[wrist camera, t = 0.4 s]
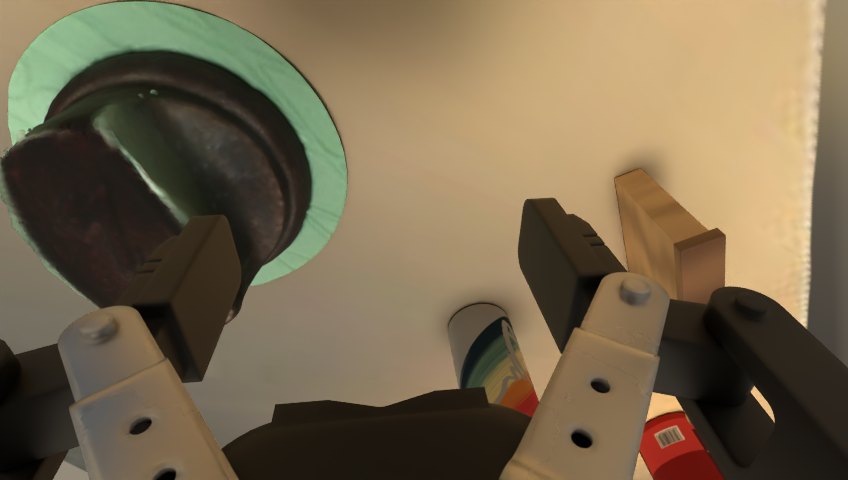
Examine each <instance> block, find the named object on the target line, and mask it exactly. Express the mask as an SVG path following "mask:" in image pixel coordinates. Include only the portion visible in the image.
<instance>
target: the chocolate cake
mask: <svg viewBox="0 0 848 480" xmlns="http://www.w3.org/2000/svg"><path fill="white" fill-rule="evenodd" d="M244 31H245V32H244ZM8 99H9V105H8V126H9V129H10V134H11V139H12V143H13V147H12V148H10V150H9V151H7V150H4V151H3V152H4V153H3V154H5V156H3V158H1V157H0V193H1V199H2V201H3V202H4V203H5V204H6V205H7V208H8V212H9V215H10V217H11V222H12V226H13V228H14V229H15V230H17V232H18V233H19V235H20V236H21V237H22V238H23V239H24V240H25V241H26V242H27V243H28V244H29V245H30V246H31V247H32V249H33V250H34V251H35V252H36V254H37V255H38V256H39V258H40V259H41V261H42V263H43V264H44V266H45V268H46V269H48V270H49V271H50V272H51V273H53V274H54V275H56V276H57V277H58V278H60V279H61V280H62V281H63V282H64V283H66V284H67V285H68V287H70V288H71V289H73V290H74V291H75V292H76V293H78V294H79V295H80V296H82V297H84V298H86V299H87V300H89V301H91V302H92V303H93V304H95V305H96V306H98V307H99V308H100V309H103V308H107V307H112V306H113V305H114V304H115V302H116V301H117V300H118V298H119V297H120V296H121V294H122V293H123V292H124V290H125V289H126V288H127V286H128V285H129V283H130V282H131V281H132V279H133V278H134V277H135V275H136V274H139V270H140V269H141V267H142V266H143V264H144V263H147V261H146V260H147V259H148V258H149V256H150V255H151V254H152V252H153V251H154V250H155V248H156V247H158V246H159V245H160V244H162V243H163V242H165V241H166V240H168V239H169V238H170V237H172V236H179V234H180V233H181V231H182V230H183V229H184V227H185V226H186V224H187V223H188V221H189V220H190V218H191V217H193V216H207V215H224V216H225V217H226V218H227V220H228V222H229V226H230V229H231V233H232V236H233V240H234V243H235V247H236V250H237V254H238V257H239V261H240V265H241V284H240V287H239V290H238V292H237V295H236V297H235V300H234V302H233V305H232V307H231V310H230V312H229V315H228V317H227V320H226V322H225V324H227V323H229V322H230V321H231V320H232V319H234V318H235V317H236V316H237V314H238V313H239V311H240V309H241V305H242V301H243V298H244V296H245V293H246V291H247V289H248V287H249V286H254V285H261V284H263V283H266V282H269V281H272V280H274V279H276V278H279V277H281V276H284V275H286V274H288V273H290V272H291V271H293V270H295V269H297V268H299V267H301V266H302V265H304V264H305V263H306V262H307V261H308V260H310V259H311V258H313V257H314V256H315V255H316V254H318V253H319V252H320V251H321V250H322V248H323V247H324V246H325V245H326V243H327V242H328V240H329V239H330V237H331V235H332V234H333V232H334V231H335V229H336V227H337V225H338V223H339V220H340V218H341V215H342V212H343V209H344V205H345V200H346V193H347V169H346V161H345V156H344V152H343V148H342V144H341V141H340V138H339V136H338V133H337V131H336V128H335V126H334V124H333V122H332V120H331V118H330V116H329V114H328V113H327V111H326V109H325V107H324V106H323V104H322V103H321V101H320V99H319V98H318V97H317V95H316V94H315V92H314V91H313V90H312V88H311V87H310V86H309V85H308V83H307V82H306V81H305V80H304V78H303V77H302V76H301V75H300V74H299V73H298V72H297V71H296V70H295V69H294V68H293V67H292V66H291V65H290V64H289V63H288V62H287V61H286V60H285V59H284V58H283V57H282V56H281V55H279V54H278V53H277V52H276V51H275V50H274V49H272V48H271V47H270V46H268V45H267V44H266V43H264V42H263V41H262V40H260V39H259V38H257V37H256V36H254V35H253V34H251V33H249V32H248V31H246V30H244V29H242V28H240V27H239V26H237V25H235V24H233V23H231V22H229V21H226V20H224V19H221V18H219V17H216V16H213V15H210V14H207V13H204V12H200V11H197V10H193V9H190V8H186V7H182V6H178V5H172V4H166V3H159V2H148V1H130V2H115V3H108V4H102V5H97V6H93V7H90V8H86V9H83V10H80V11H78V12H75V13H73V14H71V15H68V16H66V17H64V18H62V19H61V20H59V21H57V22H56V23H54V24H53V25H51V26H50V27H49V28H47V29H46V30H45V31H44V32H42V33H41V34H40V35H39V36H38V37H37V38H36V39H35V40H34V41H33V42H32V43H31V45H30V46H29V47H28V48H27V49H26V51H25V52H24V53H23V55H22V57H21V58H20V60H19V62H18V64H17V66H16V68H15V70H14V72H13V75H12V77H11V80H10V84H9V92H8ZM8 148H9V147H7V148H5V149H8Z"/></svg>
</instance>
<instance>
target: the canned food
mask: <svg viewBox="0 0 848 480" xmlns="http://www.w3.org/2000/svg"><path fill="white" fill-rule="evenodd" d="M639 452H640V454H641V456H642V458H643V460H644V462H645V464H646V466H647V468H648V470H649V472H650V474H651V476H652V478H653V480H726V479H725V477H724V475H723V474H722V472H721V470H720V469H719V467H718V466H717V464H716V462H715V461H714V459H713V457H712V456H711V454H710V452H709V451H708V449H707V448H706V446H705V444H704V443H703V441H702V439H701V438H700V436H699V434H698V433H697V431H696V430H695V428H694V426H693V425H690V424H689V422H688V420H687V419H686V415H685V413H671V414H666V415H663V416H660V417H658V418H655V419H653V420H651V421H650V422H648V423H646V424H645V427H644V431H643V435H642V440H641V444H640V449H639Z"/></svg>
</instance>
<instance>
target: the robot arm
mask: <svg viewBox="0 0 848 480" xmlns="http://www.w3.org/2000/svg"><path fill="white" fill-rule="evenodd" d="M518 258H519V264H520V268H521V270H522V272H523V274H524V276H525V279H526V281H527V283H528V285H529V287H530V289H531V291H532V293H533V296H534V298H535V300H536V302H537V304H538V306H539V308H540V310H541V312H542V315H543V317H544V319H545V321H546V323H547V325H548V327H549V329H550V332H551V334H552V336H553V338H554V340H555V342H556V344H557V346H558V349H559V351H560V353H561V354H562V355H561V357H560V360H559V362H558V364H557V366H556V368H555V370H554V372H553V374H552V376H551V379H550V381H549V383H548V385H547V387H546V389H545V391H544V393H543V396H542V398H541V400H540V402H539V404H538V406H537V408H536V410H535V412H534V415H533V417H531V416H528V415H526V414H524V413H522V412H520V411H518V410H515V409H512V408H510V407H506V406H502V405H498V404H493V403H489V402H488V398H487V395H486V391H485V387H475V388H463V389H452V390H440V391H433V392H430V393H426V394H423V395H420V396H417V397H414V398H411V399H408V400H404V401H401V402H398V403H395V404H392V405H389V406H385V407H374V406H367V405H360V404H353V403H346V402H338V401H331V400H323V401H311V402H300V403H288V404H276V405H275V409H274V413H273V418H272V422H271V423H268V424H265V425H262V426H260V427H258V428H255V429H253V430H251V431H249V432H247V433H245V434H243V435H242V436H240V437H238V438H237V439H235V440H233V441H232V442H230V443H229V444H227V445H226V446H225V447H223V448H222V449H221V448H220V446H219V445H218V443H217V441H216V440H215V438H214V436H213V434H212V433H211V431H210V429H209V428H208V426H207V424H206V422H205V421H204V419H203V417H202V416H201V414H200V412H199V410H198V409H197V407H196V405H195V404H194V402H193V400H192V398H191V397H190V395H189V393H188V392H187V390H186V388H185V386H184V385H183V383H188V382H200V381H202V380H203V377H204V375H205V372H206V370H207V367H208V365H209V362H210V360H211V357H212V355H213V352H214V350H215V347H216V345H217V342H218V340H219V337H220V335H221V332H222V330H223V327H224V325H225V322H226V320H227V317H228V315H229V312H230V310H231V307H232V305H233V302H234V300H235V297H236V295H237V292H238V290H239V287H240V284H241V265H240V261H239V257H238V254H237V250H236V247H235V243H234V240H233V236H232V233H231V229H230V226H229V222H228V220H227V218H226V217H225V216H224V215H207V216H193V217H191V218H190V220H189V221H188V223H187V224H186V226H185V227H184V229H183V230H182V231H181V233H180V234H179V236H172V237H170V238H169V239H168V240H166V241H165V242H163V243H162V244H160V245H159V246H158V247H156V248H155V250H154V251H153V252H152V254H151V255H150V256H149V258H148V259H147V260H146V261H147V263H144V264H143V266H142V267H141V269H140V270H139V274H136V275H135V277H134V278H133V279H132V281H131V282H130V283H129V285H128V286H127V288H126V289H125V290H124V292H123V293H122V294H121V296H120V297H119V298H118V300H117V301H116V302H115V304H114V305H113V306H112V307H107V308H103V309H99V310H96V311H94V312H91V313H89V314H87V315H85V316H83V317H81V318H79V319H78V320H76V321H75V322H73V323H72V324H71V325H69V326H68V327H67V328H66V329H65V330H64V331H63V333H62V334H61V335H60V337H59V339H58V343H57V344H53V345H50V346H46V347H42V348H38V349H35V350H31V351H27V352H23V353H20V354H16V355H14V354H13V352H12V351H11V349H10V348H9V347H8V345H7V344H6V343H5V341H3V340H1V339H0V480H53V478H54V476H55V474H56V473H57V471H58V469H59V467H60V465H61V463H62V462H63V460H64V458H65V456H66V454H67V452H68V451H69V449H72V448H75V447H77V446H80V449H81V452H82V455H83V459H84V462H85V465H86V469H87V472H88V475H89V479H90V480H632V479H633V475H634V471H635V466H636V462H637V457H638V453H639V449H640V444H641V440H642V435H643V431H644V427H645V422H646V418H647V413H648V409H649V405H650V400H651V396H652V392H656V393H661V394H666V395H672V396H675V397H676V398H677V400H678V402H679V403H680V405H681V407H682V408H683V410H684V412H685V413H686V415H687V416H688V418H689V420H690V421H691V423H692V425H693V426H694V428H695V430H696V431H697V433H698V434H699V436H700V438H701V439H702V441H703V443H704V444H705V446H706V448H707V449H708V451H709V452H710V454H711V456H712V457H713V459H714V461H715V462H716V464H717V466H718V467H719V469H720V470H721V472H722V474H723V475H724V477H725V479H726V480H848V368H847V367H846V366H845V365H844V364H843V363H842V362H841V361H840V360H839V359H838V358H837V357H836V356H835V355H833V354H832V353H831V352H830V351H829V350H828V349H827V348H826V347H825V346H824V345H823V344H822V343H821V342H819V340H817V339H816V338H815V337H814V336H813V335H812V334H811V333H810V332H809V331H808V330H807V329H806V328H805V327H804V326H803V325H801V324H800V323H799V322H798V321H797V320H796V319H795V318H794V317H793V316H792V315H791V314H790V313H789V312H788V311H786V310H785V309H784V308H783V307H782V306H781V305H780V304H779V303H777V302H776V301H774V300H773V299H771V298H769V297H767V296H765V295H763V294H761V293H759V292H756V291H753V290H749V289H746V288H741V287H722V288H718V289H716V290H715V291H713V293H712V294H711V296H710V299H709V301H708V303H707V304H702V303H695V302H688V301H681V300H675V299H670V298H669V295H668V293H667V291H666V290H665V289H664V288H663V287H662V286H661V285H660V284H658V283H657V282H656V281H654V280H652V279H650V278H648V277H645V276H642V275H639V274H635V273H629V272H627V271H626V269H625V268H624V267H623V266H622V264H621V263H620V262H619V261H618V259H617V258H616V257H615V256H614V254H613V253H612V252H611V251H610V249H609V248H608V247H607V246H605V245H604V242H603V241H602V239H601V238H600V237H599V236H597V233H596V232H595V231H594V229H593V228H592V227H591V226H590V224H589V223H587V222H586V221H584V220H582V219H581V218H579V217H577V216H576V215H574V214H566V212H565V211H564V210H563V208H562V207H561V206H560V204H559V203H558V202H557V200H556V199H555V198H539V199H527V200H526V201H525V203H524V206H523V213H522V221H521V229H520V237H519V245H518ZM754 386H755V387H756V388H757V389H758V391H759V392H760V393H761V394H762V396H763V397H764V398H765V399H766V400H767V402H768V403H769V405H770V407H771V409H772V411H773V414H774V418H775V423H774V422H773V420H772V419H771V418H770V416H769V415H768V414H767V413H766V411H765V410H764V409H763V408H762V406H761V405H760V404H759V402H758V401H757V400H756V399H755V397H754V396H753V395H752V394H751V390H752V388H753V387H754Z"/></svg>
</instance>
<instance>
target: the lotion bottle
mask: <svg viewBox="0 0 848 480" xmlns="http://www.w3.org/2000/svg"><path fill="white" fill-rule="evenodd" d="M448 333H449V341H450V346H451V351H452V356H453V361H454V366H455V371H456V376H457V381H458V386H459V389H463V388H475V387H485V391H486V395H487V398H488V402H489V403H493V404H498V405H502V406H506V407H510V408H512V409H515V410H518V411H520V412H522V413H524V414H526V415H528V416H531V417H533V415H534V412H535V410H536V408H537V406H538V404H539V401H538V398H537V395H536V392H535V390H534V387H533V384H532V381H531V378H530V376H529V373H528V370H527V367H526V365H525V362H524V359H523V356H522V353H521V351H520V348H519V345H518V342H517V340H516V337H515V334H514V331H513V329H512V326H511V323H510V321H509V319H508V317H507V315H506V314H505V312H504V311H503V310H502V309H500V308H499V307H496V306H494V305H490V304H477V305H472V306H469V307H466V308H464V309H462V310H461V311H459V312H458V313H457V314H456V315H455V316H454V317H453V318H452V320H451V321H450V324H449V328H448Z"/></svg>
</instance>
